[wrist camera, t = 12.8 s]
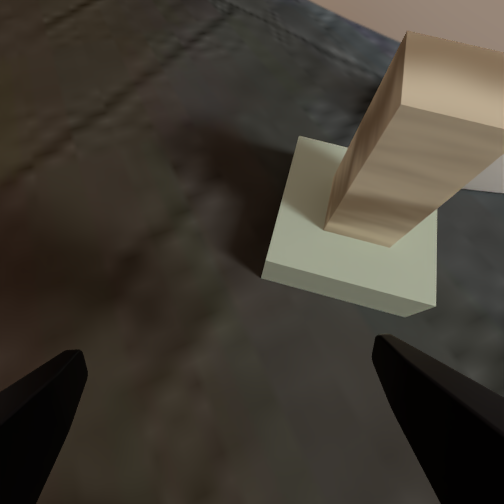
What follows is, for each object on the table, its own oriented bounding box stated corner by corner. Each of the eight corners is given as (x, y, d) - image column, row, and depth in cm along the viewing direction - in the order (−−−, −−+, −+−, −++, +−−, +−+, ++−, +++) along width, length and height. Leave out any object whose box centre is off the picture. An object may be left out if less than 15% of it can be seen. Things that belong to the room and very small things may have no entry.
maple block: (389, 247, 22) (527, 134, 12) (323, 230, 22) (400, 104, 12) (394, 192, 24) (515, 55, 14) (333, 177, 24) (407, 30, 14)
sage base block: (404, 317, 24) (435, 306, 20) (260, 278, 24) (265, 260, 21) (411, 196, 28) (437, 170, 25) (290, 166, 29) (299, 135, 25)
